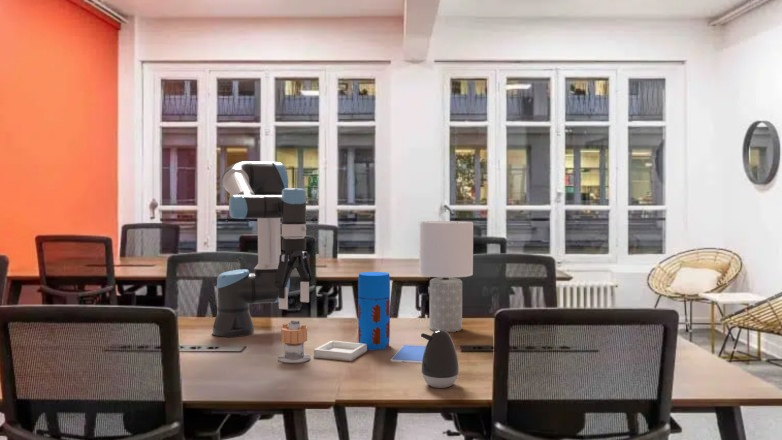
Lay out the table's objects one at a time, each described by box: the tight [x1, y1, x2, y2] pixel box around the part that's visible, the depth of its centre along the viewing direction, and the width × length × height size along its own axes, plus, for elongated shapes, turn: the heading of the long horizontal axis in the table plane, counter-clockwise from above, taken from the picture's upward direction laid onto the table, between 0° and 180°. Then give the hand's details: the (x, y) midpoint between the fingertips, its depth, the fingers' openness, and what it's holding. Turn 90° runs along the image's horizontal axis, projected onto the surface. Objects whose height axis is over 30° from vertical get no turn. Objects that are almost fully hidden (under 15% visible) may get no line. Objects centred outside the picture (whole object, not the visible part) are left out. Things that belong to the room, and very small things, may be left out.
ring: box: [280, 323, 308, 344], centre depth 192 cm, size 8×8×5 cm
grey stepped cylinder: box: [277, 319, 311, 365], centre depth 192 cm, size 10×10×12 cm
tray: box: [313, 340, 368, 362], centre depth 198 cm, size 13×13×2 cm
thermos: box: [357, 271, 391, 351], centre depth 209 cm, size 11×11×25 cm
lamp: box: [418, 220, 474, 333], centre depth 236 cm, size 21×21×42 cm
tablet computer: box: [390, 344, 426, 365], centre depth 198 cm, size 19×13×1 cm, turn 166°
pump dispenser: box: [420, 330, 460, 389], centre depth 166 cm, size 10×10×15 cm
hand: (294, 305), depth 191 cm, fingers open, 13 cm apart
